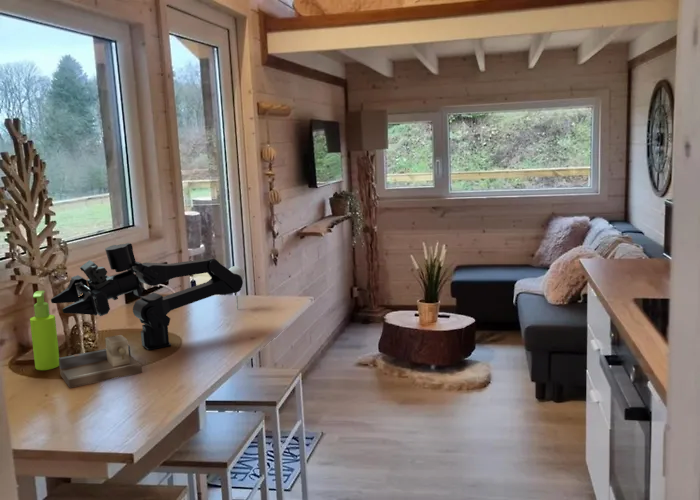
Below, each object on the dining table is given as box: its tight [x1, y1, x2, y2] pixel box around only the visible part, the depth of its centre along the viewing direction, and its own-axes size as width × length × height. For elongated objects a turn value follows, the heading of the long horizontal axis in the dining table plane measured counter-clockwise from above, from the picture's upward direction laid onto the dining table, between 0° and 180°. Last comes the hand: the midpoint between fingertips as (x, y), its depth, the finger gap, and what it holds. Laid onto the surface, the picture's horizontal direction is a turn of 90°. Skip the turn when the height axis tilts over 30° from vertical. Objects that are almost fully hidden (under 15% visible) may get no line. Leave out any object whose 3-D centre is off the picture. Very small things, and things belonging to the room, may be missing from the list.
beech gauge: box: [104, 334, 130, 366], centre depth 167 cm, size 4×9×6 cm, turn 33°
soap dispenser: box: [29, 290, 60, 371], centre depth 171 cm, size 6×7×20 cm
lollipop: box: [228, 265, 245, 311], centre depth 225 cm, size 6×6×15 cm
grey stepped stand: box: [59, 344, 143, 389], centre depth 166 cm, size 17×11×5 cm, turn 124°
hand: (56, 306), depth 170 cm, fingers open, 9 cm apart
